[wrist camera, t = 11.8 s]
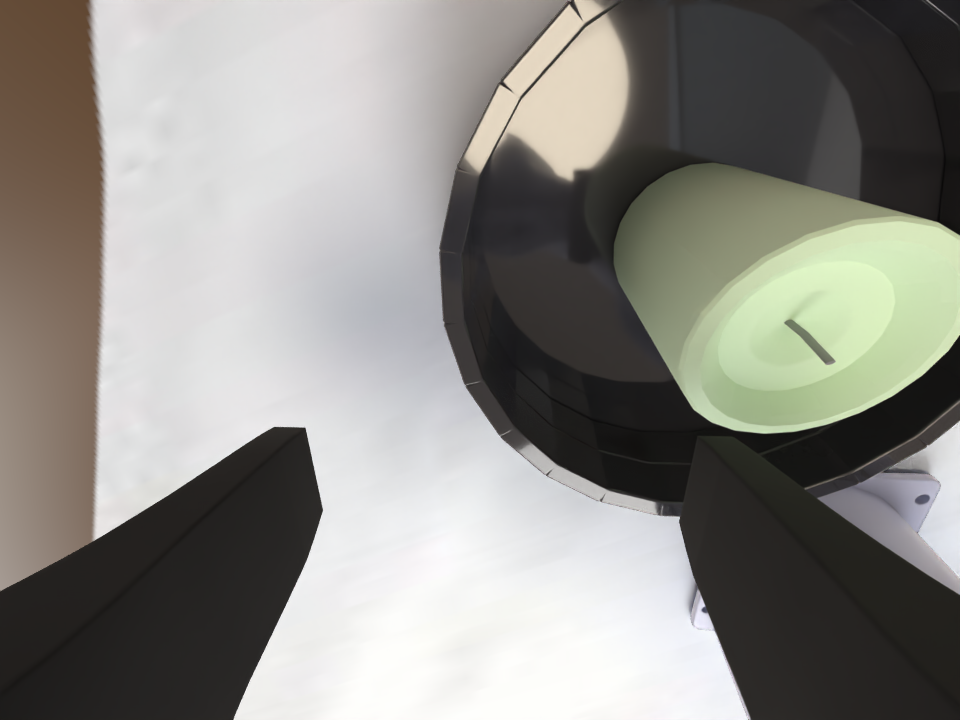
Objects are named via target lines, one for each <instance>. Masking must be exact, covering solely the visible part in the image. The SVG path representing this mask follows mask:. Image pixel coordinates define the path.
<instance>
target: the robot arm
mask: <svg viewBox="0 0 960 720" xmlns="http://www.w3.org/2000/svg"><path fill="white" fill-rule="evenodd" d="M940 487H941V485H940V482H939V481H938V480H937V479H935V478H934V477H933V476H932V475H929V474H912V473H879V474H877V475H875V476H873V477H871V478H870V479H868V480H866V481H864V482H862V483H859V484H858V485H855V486H852V487H849V488H846V489H843V490H840V491H837V492H834V493H831V494H829V495H826V496H823V497H820V498H816V497H815V496H813V495H812V494H811V493H809V492H808V491H807V490H805V489H804V488H803V487H801V486H800V485H799V484H797V483H796V482H795V481H793V480H792V479H791V478H789V477H788V476H787V475H785V474H784V473H783V472H781V471H780V470H779V469H777V468H776V467H775V466H773V465H772V464H771V463H769V462H768V461H766V460H765V459H764V458H762V457H761V456H760V455H758V454H757V453H756V452H754V451H753V450H752V449H750V448H749V447H747V446H746V445H745V444H743V443H742V442H740V441H739V440H737V439H736V438H734V437H722V436H697V441H696V446H695V450H694V455H693V460H692V464H691V469H690V474H689V478H688V483H687V488H686V492H685V497H684V501H683V506H682V511H681V515H680V520H679V523H680V527H681V531H682V535H683V539H684V543H685V547H686V551H687V555H688V558H689V562H690V566H691V569H692V573H693V576H694V579H695V581H696V584H697V587H698V589H697V593H696V597H695V601H694V605H693V609H692V613H691V622H692V625H693V626H694V627H695V628H697V629H700V630H714V631H715V633H716V636H717V639H718V641H719V644H720V647H721V649H722V652H723V655H724V657H725V660H726V663H727V665H728V668H729V670H730V673H731V676H732V678H733V681H734V684H735V686H736V689H737V692H738V694H739V697H740V700H741V702H742V705H743V708H744V710H745V713H746V716H747V718H748V720H960V578H959V577H958V576H957V575H956V574H955V573H954V572H953V571H952V570H951V569H950V568H949V567H948V566H947V565H946V563H945V562H944V561H943V560H942V559H941V558H940V557H939V556H938V555H937V554H936V553H935V552H934V551H933V550H932V549H931V548H930V546H929V545H928V544H927V543H926V542H925V541H924V540H923V539H922V538H921V537H920V536H919V535H918V534H917V533H918V531H919V529H920V527H921V525H922V523H923V521H924V520H925V518H926V516H927V514H928V512H929V510H930V508H931V506H932V504H933V502H934V500H935V498H936V496H937V494H938V492H939V490H940ZM322 512H323V508H322V504H321V499H320V494H319V489H318V485H317V480H316V475H315V471H314V466H313V461H312V457H311V452H310V447H309V443H308V438H307V433H306V429H305V428H297V427H273V428H272V429H270V430H268V431H266V432H264V433H263V434H261V435H260V436H258V437H256V438H255V439H253V440H252V441H250V442H248V443H247V444H245V445H244V446H242V447H241V448H239V449H238V450H236V451H235V452H233V453H232V454H230V455H229V456H227V457H226V458H224V459H223V460H221V461H220V462H218V463H217V464H215V465H214V466H212V467H211V468H209V469H208V470H206V471H205V472H203V473H202V474H200V475H199V476H197V477H196V478H194V479H193V480H191V481H190V482H188V483H187V484H185V485H184V486H182V487H181V488H179V489H178V490H176V491H175V492H173V493H171V494H170V495H168V496H167V497H165V498H164V499H162V500H160V501H159V502H157V503H155V504H154V505H152V506H151V507H149V508H147V509H146V510H144V511H142V512H141V513H139V514H138V515H136V516H134V517H133V518H131V519H129V520H128V521H126V522H125V523H123V524H121V525H120V526H118V527H116V528H115V529H113V530H112V531H110V532H108V533H107V534H105V535H103V536H102V537H100V538H98V539H96V540H95V541H93V542H91V543H90V544H88V545H86V546H84V547H83V548H81V549H79V550H77V551H75V552H73V553H72V554H70V555H68V556H66V557H65V558H63V559H61V560H59V561H57V562H55V563H53V564H52V565H49V566H48V567H46V568H44V569H42V570H40V571H38V572H36V573H34V574H33V575H31V576H29V577H27V578H25V579H23V580H21V581H20V582H17V583H15V584H13V585H11V586H9V587H7V588H6V589H4V590H2V591H0V720H233V719H234V716H235V714H236V711H237V709H238V707H239V704H240V702H241V700H242V697H243V695H244V693H245V690H246V688H247V686H248V683H249V681H250V679H251V677H252V675H253V673H254V671H255V669H256V667H257V664H258V662H259V660H260V658H261V656H262V654H263V652H264V650H265V648H266V646H267V644H268V641H269V639H270V637H271V635H272V633H273V631H274V629H275V627H276V625H277V623H278V620H279V618H280V616H281V614H282V612H283V610H284V608H285V606H286V604H287V602H288V600H289V597H290V595H291V593H292V591H293V589H294V587H295V585H296V582H297V580H298V578H299V576H300V574H301V572H302V569H303V567H304V565H305V563H306V561H307V558H308V555H309V552H310V549H311V546H312V543H313V540H314V538H315V534H316V531H317V528H318V525H319V521H320V518H321V515H322Z"/></svg>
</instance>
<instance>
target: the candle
mask: <svg viewBox="0 0 960 720" xmlns="http://www.w3.org/2000/svg"><path fill="white" fill-rule="evenodd" d="M614 267H615V271H616V275H617V278H618V282H619V284H620V286H621V287H622V289H623V291H624V293H625V294H626V296H627V298H628V299H629V301H630V303H631V305H632V306H633V308H634V310H635V311H636V313H637V315H638V317H639V318H640V320H641V322H642V323H643V325H644V327H645V329H646V330H647V332H648V334H649V335H650V337H651V339H652V341H653V342H654V344H655V346H656V347H657V349H658V351H659V353H660V354H661V356H662V358H663V360H664V361H665V363H666V365H667V366H668V368H669V370H670V372H671V373H672V375H673V377H674V378H675V380H676V382H677V384H678V385H679V387H680V389H681V390H682V392H683V394H684V395H685V397H686V398H687V400H688V402H689V403H690V405H691V406H692V408H693V409H694V410H695V411H696V412H698V413H699V414H701V415H702V416H703V417H705V418H706V419H707V420H709V421H710V422H712V423H715V424H718V425H720V426H723V427H726V428H729V429H732V430H736V431H745V432H754V433H763V434H766V433H782V432H795V431H800V430H805V429H809V428H814V427H819V426H823V425H827V424H830V423H833V422H836V421H839V420H841V419H844V418H847V417H850V416H852V415H855V414H858V413H861V412H862V411H864V410H866V409H868V408H870V407H872V406H874V405H876V404H878V403H880V402H882V401H884V400H886V399H888V398H890V397H892V396H893V395H895V394H896V393H898V392H899V391H901V390H902V389H903V388H905V387H906V386H908V385H909V384H911V383H912V382H914V381H915V380H916V379H918V378H919V377H921V376H922V375H923V374H924V373H925V372H926V371H928V370H929V369H930V368H931V367H932V366H933V365H934V364H935V363H936V362H937V361H938V360H939V359H940V358H941V357H942V356H943V355H944V354H945V353H946V352H948V351H949V349H950V348H951V347H952V345H953V344H954V342H955V341H956V340H957V338H958V337H959V335H960V235H958V234H956V233H955V232H953V231H952V230H950V229H948V228H947V227H945V226H943V225H942V224H940V223H938V222H935V221H931V220H928V219H924V218H920V217H917V216H913V215H909V214H906V213H902V212H899V211H895V210H891V209H888V208H884V207H880V206H877V205H873V204H870V203H866V202H862V201H859V200H855V199H851V198H848V197H844V196H840V195H837V194H833V193H830V192H826V191H822V190H819V189H815V188H811V187H808V186H804V185H801V184H797V183H793V182H790V181H786V180H782V179H779V178H775V177H771V176H768V175H764V174H761V173H757V172H753V171H750V170H746V169H742V168H739V167H735V166H730V165H724V164H719V163H703V164H693V165H688V166H685V167H683V168H680V169H677V170H674V171H672V172H669V173H667V174H665V175H664V176H662V177H661V178H659V179H658V180H656V181H655V182H653V183H652V184H650V185H649V186H647V187H646V188H645V190H644V191H643V192H642V193H641V194H640V195H639V196H638V197H637V198H636V199H635V200H634V201H633V202H632V203H631V205H630V207H629V208H628V210H627V212H626V214H625V215H624V217H623V219H622V220H621V222H620V225H619V228H618V232H617V235H616V239H615V242H614Z"/></svg>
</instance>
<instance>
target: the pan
mask: <svg viewBox="0 0 960 720" xmlns="http://www.w3.org/2000/svg"><path fill="white" fill-rule="evenodd" d="M703 163H719V164H724V165H730V166H735V167H739V168H742V169H746V170H750V171H753V172H757V173H761V174H764V175H768V176H771V177H775V178H779V179H782V180H786V181H790V182H793V183H797V184H801V185H804V186H808V187H811V188H815V189H819V190H822V191H826V192H830V193H833V194H837V195H840V196H844V197H848V198H851V199H855V200H859V201H862V202H866V203H870V204H873V205H877V206H880V207H884V208H888V209H891V210H895V211H899V212H902V213H906V214H909V215H913V216H917V217H920V218H924V219H928V220H931V221H935V222H938V223H940V224H942V225H943V226H945V227H947V228H948V229H950V230H952V231H953V232H955V233H956V234H958V235H960V0H570V1H568V2H566V4H565V5H564V6H563V7H562V8H561V9H560V11H559V12H558V13H557V14H556V15H555V17H554V18H553V19H552V20H551V21H550V22H549V24H548V25H547V26H546V27H545V28H544V29H543V31H542V32H541V33H540V34H539V35H538V36H537V38H536V39H535V40H534V41H533V42H532V43H531V45H530V46H529V47H528V48H527V49H526V50H525V52H524V53H523V54H522V55H521V56H520V57H519V59H518V60H517V61H516V62H515V63H514V65H513V66H512V67H511V68H510V69H509V70H508V72H507V73H506V74H505V75H504V76H503V77H502V79H501V81H500V82H499V83H498V85H497V87H496V89H495V91H494V93H493V95H492V97H491V99H490V101H489V103H488V105H487V107H486V109H485V111H484V113H483V115H482V117H481V119H480V121H479V123H478V125H477V127H476V129H475V131H474V133H473V135H472V137H471V139H470V141H469V143H468V145H467V147H466V149H465V151H464V153H463V155H462V157H461V159H460V161H459V163H458V165H457V169H456V171H455V176H454V181H453V186H452V190H451V195H450V200H449V204H448V209H447V214H446V219H445V223H444V228H443V233H442V238H441V242H440V247H439V249H440V252H439V258H440V275H441V293H442V310H443V321H444V327H445V330H446V333H447V336H448V339H449V341H450V344H451V347H452V350H453V353H454V356H455V359H456V362H457V365H458V368H459V371H460V373H461V376H462V379H463V382H464V384H465V385H466V388H467V390H468V391H469V393H470V394H471V396H472V397H473V398H474V400H475V401H476V403H477V404H478V406H479V407H480V409H481V410H482V411H483V413H484V414H485V416H486V417H487V419H488V420H489V421H490V423H491V424H492V426H493V427H494V429H495V430H496V432H497V433H498V434H499V436H501V438H502V439H503V440H504V441H505V442H506V443H508V444H509V445H510V446H511V447H512V448H514V449H515V450H516V451H517V452H518V453H520V454H521V455H522V456H523V457H524V458H525V459H527V460H528V461H529V462H530V463H531V464H533V465H534V466H535V467H536V468H537V469H539V470H540V471H541V472H542V473H543V474H544V475H546V476H548V477H550V478H552V479H554V480H556V481H558V482H560V483H562V484H564V485H566V486H568V487H570V488H572V489H574V490H576V491H578V492H580V493H582V494H584V495H586V496H588V497H590V498H592V499H594V500H597V501H601V502H603V503H607V504H612V505H616V506H620V507H624V508H629V509H633V510H637V511H641V512H645V513H650V514H654V515H660V516H675V517H680V515H681V511H682V506H683V501H684V497H685V492H686V488H687V483H688V478H689V474H690V469H691V464H692V460H693V455H694V450H695V446H696V441H697V436H722V437H734V438H736V439H737V440H739V441H740V442H742V443H743V444H745V445H746V446H747V447H749V448H750V449H752V450H753V451H754V452H756V453H757V454H758V455H760V456H761V457H762V458H764V459H765V460H766V461H768V462H769V463H771V464H772V465H773V466H775V467H776V468H777V469H779V470H780V471H781V472H783V473H784V474H785V475H787V476H788V477H789V478H791V479H792V480H793V481H795V482H796V483H797V484H799V485H800V486H801V487H803V488H804V489H805V490H807V491H808V492H809V493H811V494H812V495H813V496H815V497H816V498H820V497H823V496H826V495H829V494H831V493H834V492H837V491H840V490H843V489H846V488H849V487H852V486H855V485H858V484H859V483H862V482H864V481H866V480H868V479H870V478H871V477H873V476H875V475H877V474H879V473H880V472H882V471H884V470H886V469H888V468H890V467H891V466H893V465H895V464H897V463H899V462H901V461H902V460H904V459H906V458H908V457H910V456H911V455H913V454H915V453H917V452H919V451H921V450H922V449H924V448H926V447H927V445H930V444H932V443H933V442H934V441H935V440H937V439H938V438H939V437H940V436H942V435H943V434H944V433H945V432H947V431H948V430H949V429H950V428H952V427H953V426H954V425H955V424H957V423H958V422H959V421H960V335H959V337H958V338H957V340H956V341H955V342H954V344H953V345H952V347H951V348H950V349H949V351H948V352H946V353H945V354H944V355H943V356H942V357H941V358H940V359H939V360H938V361H937V362H936V363H935V364H934V365H933V366H932V367H931V368H930V369H929V370H928V371H926V372H925V373H924V374H923V375H922V376H921V377H919V378H918V379H916V380H915V381H914V382H912V383H911V384H909V385H908V386H906V387H905V388H903V389H902V390H901V391H899V392H898V393H896V394H895V395H893V396H892V397H890V398H888V399H886V400H884V401H882V402H880V403H878V404H876V405H874V406H872V407H870V408H868V409H866V410H864V411H862V412H861V413H858V414H855V415H852V416H850V417H847V418H844V419H841V420H839V421H836V422H833V423H830V424H827V425H823V426H819V427H814V428H809V429H805V430H800V431H795V432H782V433H766V434H763V433H754V432H745V431H736V430H732V429H729V428H726V427H723V426H720V425H718V424H715V423H712V422H710V421H709V420H707V419H706V418H705V417H703V416H702V415H701V414H699V413H698V412H696V411H695V410H694V409H693V408H692V406H691V405H690V403H689V402H688V400H687V398H686V397H685V395H684V394H683V392H682V390H681V389H680V387H679V385H678V384H677V382H676V380H675V378H674V377H673V375H672V373H671V372H670V370H669V368H668V366H667V365H666V363H665V361H664V360H663V358H662V356H661V354H660V353H659V351H658V349H657V347H656V346H655V344H654V342H653V341H652V339H651V337H650V335H649V334H648V332H647V330H646V329H645V327H644V325H643V323H642V322H641V320H640V318H639V317H638V315H637V313H636V311H635V310H634V308H633V306H632V305H631V303H630V301H629V299H628V298H627V296H626V294H625V293H624V291H623V289H622V287H621V286H620V284H619V282H618V278H617V275H616V271H615V267H614V242H615V239H616V235H617V232H618V228H619V225H620V222H621V220H622V219H623V217H624V215H625V214H626V212H627V210H628V208H629V207H630V205H631V203H632V202H633V201H634V200H635V199H636V198H637V197H638V196H639V195H640V194H641V193H642V192H643V191H644V190H645V188H646V187H647V186H649V185H650V184H652V183H653V182H655V181H656V180H658V179H659V178H661V177H662V176H664V175H665V174H667V173H669V172H672V171H674V170H677V169H680V168H683V167H685V166H688V165H693V164H703Z"/></svg>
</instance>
